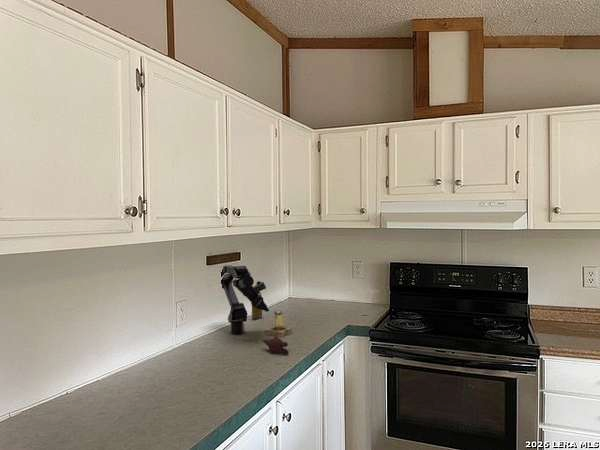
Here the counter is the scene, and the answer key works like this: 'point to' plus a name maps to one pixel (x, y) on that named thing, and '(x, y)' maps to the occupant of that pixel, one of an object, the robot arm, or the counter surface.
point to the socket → (276, 333)
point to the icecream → (276, 345)
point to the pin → (278, 320)
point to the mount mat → (267, 327)
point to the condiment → (256, 313)
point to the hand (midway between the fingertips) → (267, 309)
